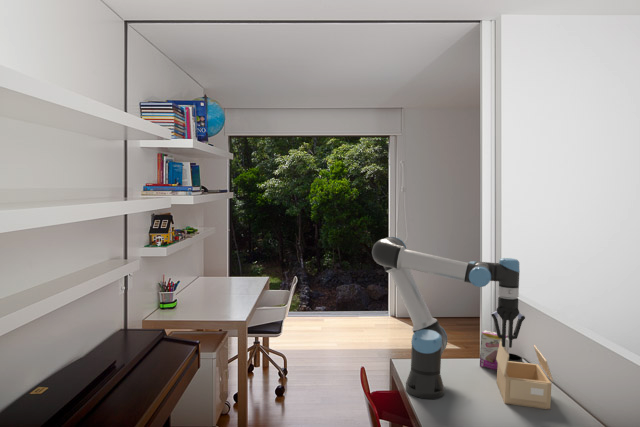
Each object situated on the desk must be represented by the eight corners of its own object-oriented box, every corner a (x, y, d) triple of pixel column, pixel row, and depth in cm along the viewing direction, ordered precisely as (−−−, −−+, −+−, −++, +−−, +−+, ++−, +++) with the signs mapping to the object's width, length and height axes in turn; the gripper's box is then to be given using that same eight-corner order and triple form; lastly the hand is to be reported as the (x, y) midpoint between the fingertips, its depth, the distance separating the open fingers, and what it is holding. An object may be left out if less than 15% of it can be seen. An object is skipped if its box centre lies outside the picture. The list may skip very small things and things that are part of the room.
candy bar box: (479, 366, 210) (481, 332, 209) (481, 363, 214) (483, 329, 213) (504, 372, 204) (506, 336, 203) (506, 369, 208) (508, 334, 207)
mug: (531, 380, 196) (532, 359, 196) (507, 381, 194) (508, 361, 193) (517, 371, 205) (518, 352, 205) (493, 373, 203) (494, 353, 202)
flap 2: (539, 363, 187) (540, 363, 187) (552, 381, 169) (553, 381, 168) (533, 345, 187) (534, 344, 187) (545, 361, 169) (546, 360, 169)
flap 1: (504, 376, 172) (503, 375, 172) (497, 359, 191) (496, 358, 191) (509, 356, 172) (507, 355, 172) (501, 341, 190) (499, 340, 190)
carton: (505, 404, 171) (506, 378, 171) (496, 382, 192) (497, 359, 192) (550, 410, 168) (552, 384, 167) (536, 387, 189) (538, 363, 188)
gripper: (492, 298, 178) (490, 356, 179) (527, 300, 175) (525, 359, 176) (490, 294, 185) (488, 350, 186) (523, 296, 182) (521, 353, 183)
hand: (506, 355), depth 181 cm, fingers closed
